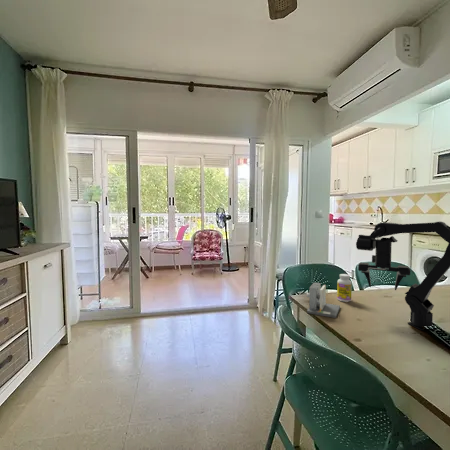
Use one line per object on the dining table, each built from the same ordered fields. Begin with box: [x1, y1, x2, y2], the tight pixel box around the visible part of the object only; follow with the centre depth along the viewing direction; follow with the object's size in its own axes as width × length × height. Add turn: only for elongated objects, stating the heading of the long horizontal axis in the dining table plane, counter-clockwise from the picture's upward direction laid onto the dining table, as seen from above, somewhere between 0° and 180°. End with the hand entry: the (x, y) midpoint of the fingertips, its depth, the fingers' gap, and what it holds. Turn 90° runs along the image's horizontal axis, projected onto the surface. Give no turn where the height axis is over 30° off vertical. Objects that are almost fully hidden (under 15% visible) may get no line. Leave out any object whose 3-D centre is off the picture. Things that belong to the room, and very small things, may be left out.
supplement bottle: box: [336, 273, 353, 303], centre depth 135 cm, size 7×7×13 cm
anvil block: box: [308, 282, 322, 311], centre depth 123 cm, size 3×10×10 cm, turn 150°
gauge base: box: [306, 303, 341, 319], centre depth 121 cm, size 12×14×1 cm
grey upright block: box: [306, 284, 327, 312], centre depth 122 cm, size 8×11×9 cm, turn 150°
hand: (382, 288), depth 113 cm, fingers open, 9 cm apart
